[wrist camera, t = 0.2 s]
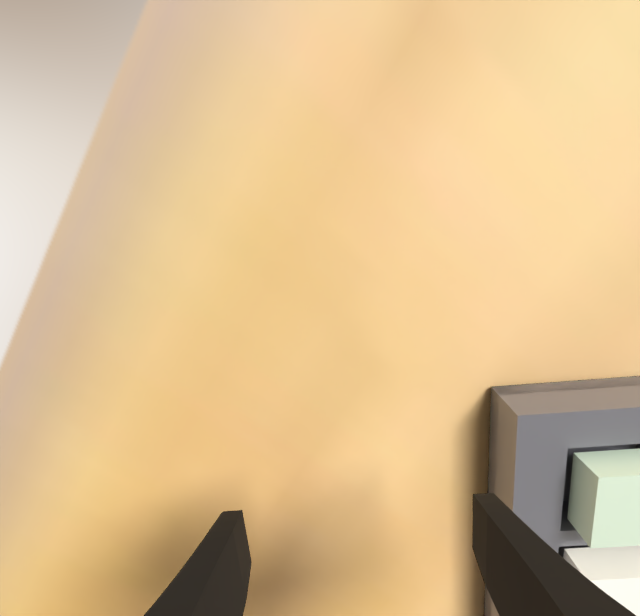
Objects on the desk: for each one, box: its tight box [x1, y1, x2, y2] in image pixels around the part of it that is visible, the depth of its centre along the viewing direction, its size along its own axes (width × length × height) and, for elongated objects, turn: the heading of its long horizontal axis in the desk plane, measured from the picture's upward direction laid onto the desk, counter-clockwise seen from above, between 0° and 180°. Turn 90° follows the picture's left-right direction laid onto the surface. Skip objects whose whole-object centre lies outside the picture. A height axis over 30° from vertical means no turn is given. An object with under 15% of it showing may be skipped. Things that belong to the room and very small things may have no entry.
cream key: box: [563, 546, 640, 616], centre depth 20 cm, size 4×4×2 cm
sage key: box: [567, 448, 640, 548], centre depth 18 cm, size 4×4×2 cm
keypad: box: [484, 376, 640, 616], centre depth 22 cm, size 21×10×3 cm, turn 5°
